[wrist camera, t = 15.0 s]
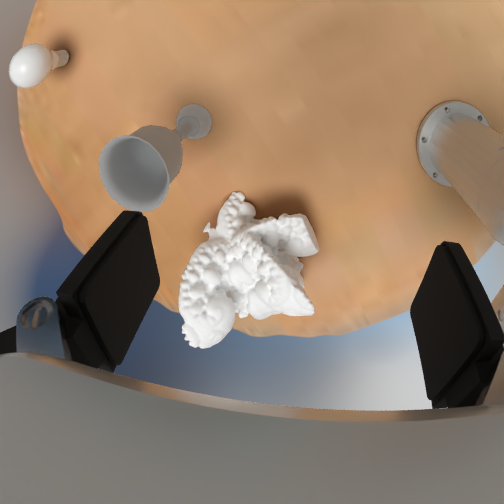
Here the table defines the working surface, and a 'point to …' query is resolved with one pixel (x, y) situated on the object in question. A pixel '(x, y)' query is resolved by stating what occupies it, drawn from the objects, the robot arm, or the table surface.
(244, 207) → the white bumpy sculpture
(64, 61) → the lightbulb
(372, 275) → the table surface
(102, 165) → the chalice
